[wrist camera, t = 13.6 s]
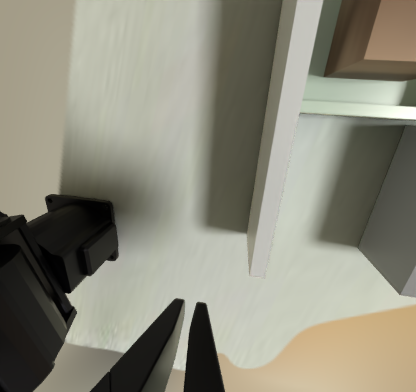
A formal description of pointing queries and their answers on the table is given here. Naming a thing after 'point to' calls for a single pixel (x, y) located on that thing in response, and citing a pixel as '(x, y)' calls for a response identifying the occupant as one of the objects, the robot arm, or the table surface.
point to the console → (395, 220)
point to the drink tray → (308, 108)
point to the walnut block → (374, 41)
